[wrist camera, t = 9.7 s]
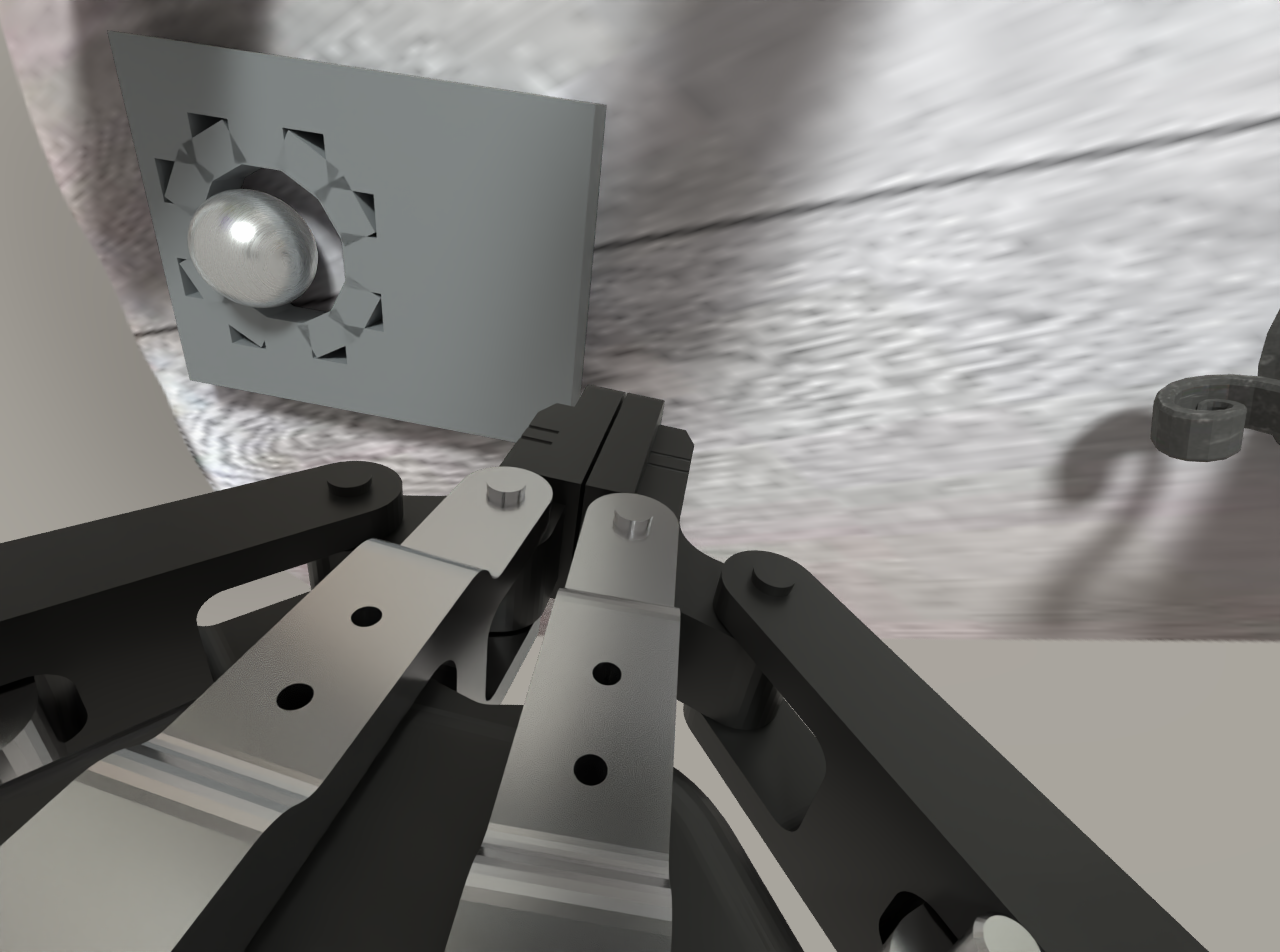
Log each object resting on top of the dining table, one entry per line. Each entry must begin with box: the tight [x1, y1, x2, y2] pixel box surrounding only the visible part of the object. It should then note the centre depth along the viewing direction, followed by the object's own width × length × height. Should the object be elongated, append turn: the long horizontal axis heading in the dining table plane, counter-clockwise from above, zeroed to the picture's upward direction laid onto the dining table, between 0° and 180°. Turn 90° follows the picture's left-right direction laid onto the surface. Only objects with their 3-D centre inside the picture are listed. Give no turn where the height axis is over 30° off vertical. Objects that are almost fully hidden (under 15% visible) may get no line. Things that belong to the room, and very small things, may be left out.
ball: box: [187, 189, 318, 308], centre depth 35 cm, size 6×6×6 cm
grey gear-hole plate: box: [107, 31, 606, 443], centre depth 36 cm, size 18×24×2 cm
